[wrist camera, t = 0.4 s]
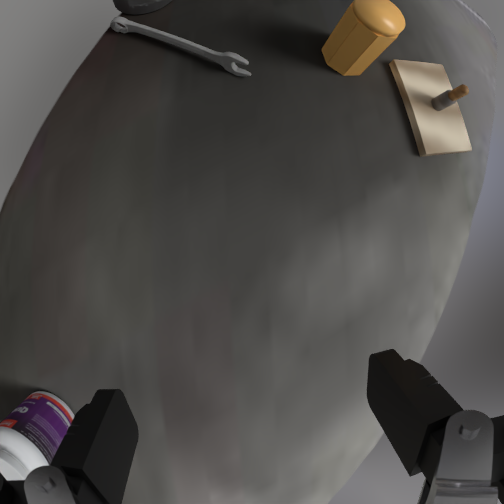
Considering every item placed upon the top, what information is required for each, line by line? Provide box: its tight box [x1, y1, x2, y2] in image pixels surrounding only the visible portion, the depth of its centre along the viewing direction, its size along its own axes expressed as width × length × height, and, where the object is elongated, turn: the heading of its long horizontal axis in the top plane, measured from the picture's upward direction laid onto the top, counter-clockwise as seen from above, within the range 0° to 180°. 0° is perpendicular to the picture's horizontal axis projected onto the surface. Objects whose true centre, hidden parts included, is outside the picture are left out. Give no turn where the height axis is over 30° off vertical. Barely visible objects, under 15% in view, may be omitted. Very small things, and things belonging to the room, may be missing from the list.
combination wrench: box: [111, 17, 251, 76], centre depth 31 cm, size 4×1×20 cm
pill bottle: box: [0, 391, 75, 481], centre depth 24 cm, size 8×8×14 cm
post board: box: [389, 60, 472, 157], centre depth 33 cm, size 14×10×8 cm
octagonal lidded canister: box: [321, 0, 405, 76], centre depth 29 cm, size 6×6×11 cm
